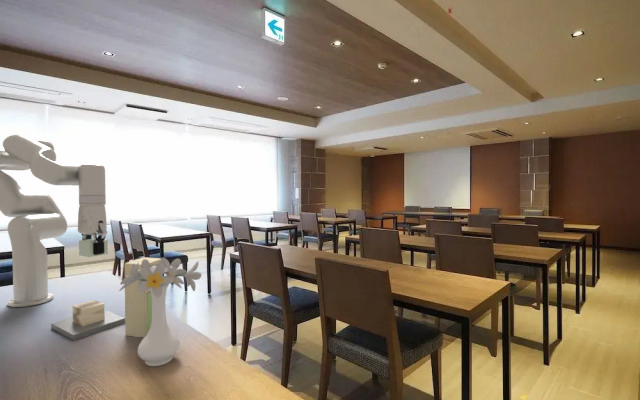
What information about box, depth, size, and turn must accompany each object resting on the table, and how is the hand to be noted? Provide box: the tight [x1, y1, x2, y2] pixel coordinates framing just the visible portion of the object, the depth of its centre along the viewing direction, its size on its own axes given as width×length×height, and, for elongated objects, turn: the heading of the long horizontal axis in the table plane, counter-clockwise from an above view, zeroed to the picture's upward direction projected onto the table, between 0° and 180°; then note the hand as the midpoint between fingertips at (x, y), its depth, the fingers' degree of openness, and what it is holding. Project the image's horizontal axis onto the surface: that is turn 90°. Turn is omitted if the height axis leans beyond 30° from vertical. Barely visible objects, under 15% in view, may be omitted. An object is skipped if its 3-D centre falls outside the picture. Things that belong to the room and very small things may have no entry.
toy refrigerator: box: [123, 256, 164, 338], centre depth 98 cm, size 8×7×21 cm
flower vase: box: [118, 257, 202, 367], centre depth 83 cm, size 13×18×25 cm
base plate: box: [50, 309, 125, 341], centre depth 102 cm, size 14×14×2 cm
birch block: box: [72, 299, 105, 326], centre depth 102 cm, size 6×6×5 cm
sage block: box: [78, 238, 109, 258], centre depth 114 cm, size 6×6×5 cm
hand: (93, 252), depth 115 cm, fingers closed on sage block, 6 cm apart
